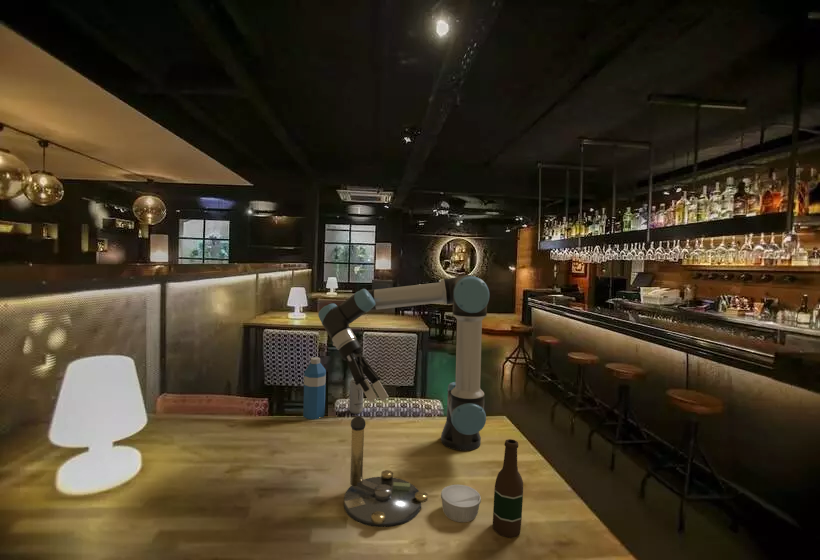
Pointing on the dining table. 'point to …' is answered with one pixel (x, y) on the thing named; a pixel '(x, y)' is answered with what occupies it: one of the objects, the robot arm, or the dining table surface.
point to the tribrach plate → (384, 502)
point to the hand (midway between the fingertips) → (379, 399)
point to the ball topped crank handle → (356, 474)
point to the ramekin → (460, 502)
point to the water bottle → (314, 390)
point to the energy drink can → (355, 398)
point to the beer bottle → (508, 494)
